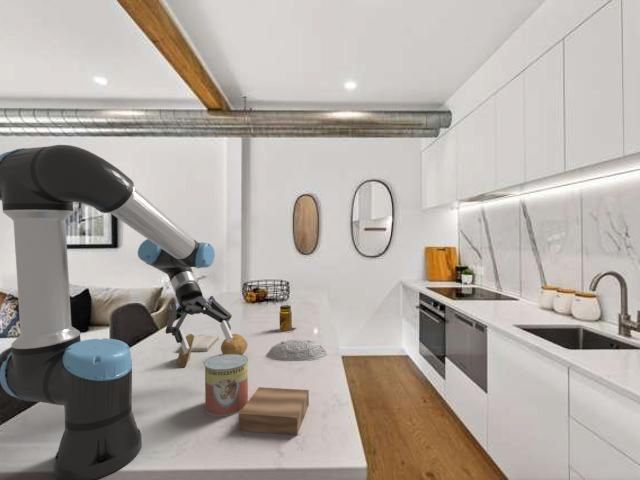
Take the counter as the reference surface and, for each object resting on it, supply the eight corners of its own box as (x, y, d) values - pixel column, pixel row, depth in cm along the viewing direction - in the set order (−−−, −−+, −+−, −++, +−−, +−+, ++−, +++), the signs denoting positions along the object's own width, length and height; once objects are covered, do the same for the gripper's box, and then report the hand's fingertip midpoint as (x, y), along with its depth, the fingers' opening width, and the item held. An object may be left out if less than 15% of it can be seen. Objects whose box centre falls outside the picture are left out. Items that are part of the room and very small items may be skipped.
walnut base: (297, 435, 76) (297, 417, 76) (239, 430, 78) (238, 413, 78) (308, 404, 90) (308, 390, 90) (259, 401, 92) (258, 387, 92)
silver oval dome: (330, 359, 123) (329, 341, 124) (262, 365, 122) (261, 346, 123) (328, 350, 139) (327, 333, 139) (268, 354, 138) (267, 338, 138)
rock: (190, 362, 116) (205, 349, 126) (175, 343, 117) (191, 331, 126) (170, 378, 119) (187, 364, 129) (155, 359, 119) (173, 346, 129)
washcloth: (220, 339, 152) (219, 332, 152) (208, 353, 135) (208, 345, 135) (193, 340, 152) (193, 333, 152) (178, 353, 134) (178, 346, 134)
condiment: (276, 331, 163) (276, 306, 163) (284, 327, 171) (283, 303, 171) (289, 332, 161) (289, 307, 161) (297, 328, 169) (296, 304, 169)
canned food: (203, 419, 84) (203, 371, 84) (206, 398, 94) (205, 356, 94) (249, 412, 87) (248, 366, 87) (247, 393, 98) (246, 352, 97)
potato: (218, 365, 120) (217, 343, 120) (223, 352, 133) (223, 332, 133) (245, 363, 121) (245, 341, 121) (248, 351, 135) (248, 331, 135)
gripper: (218, 291, 119) (241, 342, 109) (142, 301, 101) (162, 363, 91) (225, 278, 115) (250, 329, 105) (148, 285, 98) (169, 348, 87)
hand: (209, 345), depth 98 cm, fingers open, 13 cm apart
